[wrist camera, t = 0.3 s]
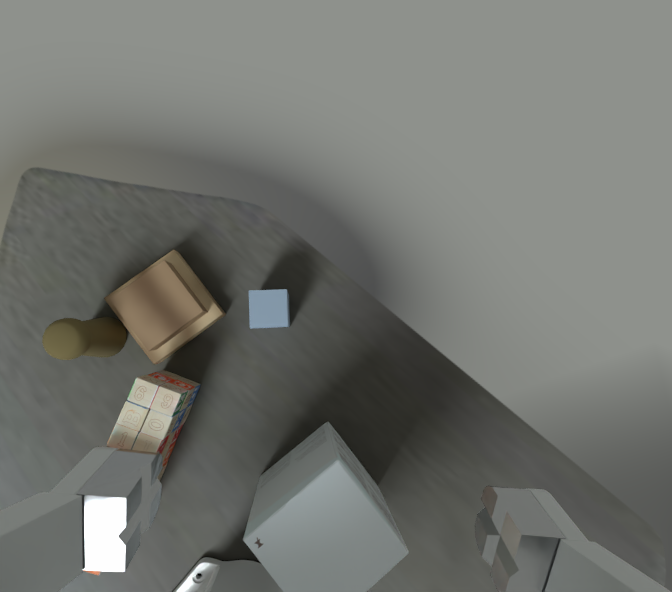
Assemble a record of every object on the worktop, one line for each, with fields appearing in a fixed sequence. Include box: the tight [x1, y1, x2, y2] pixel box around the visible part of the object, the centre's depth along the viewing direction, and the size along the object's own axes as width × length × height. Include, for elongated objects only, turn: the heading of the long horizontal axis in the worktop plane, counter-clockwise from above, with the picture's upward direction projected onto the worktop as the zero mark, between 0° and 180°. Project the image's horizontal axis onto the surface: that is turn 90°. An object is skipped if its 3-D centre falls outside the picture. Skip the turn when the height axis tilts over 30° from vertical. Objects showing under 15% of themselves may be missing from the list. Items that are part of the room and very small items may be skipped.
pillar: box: [249, 289, 290, 328], centre depth 55 cm, size 5×5×9 cm
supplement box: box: [243, 422, 409, 592], centre depth 49 cm, size 13×13×18 cm
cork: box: [42, 317, 127, 360], centre depth 51 cm, size 6×6×11 cm
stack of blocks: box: [83, 370, 201, 575], centre depth 50 cm, size 21×6×12 cm, turn 158°
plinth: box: [104, 250, 226, 364], centre depth 55 cm, size 12×12×6 cm
